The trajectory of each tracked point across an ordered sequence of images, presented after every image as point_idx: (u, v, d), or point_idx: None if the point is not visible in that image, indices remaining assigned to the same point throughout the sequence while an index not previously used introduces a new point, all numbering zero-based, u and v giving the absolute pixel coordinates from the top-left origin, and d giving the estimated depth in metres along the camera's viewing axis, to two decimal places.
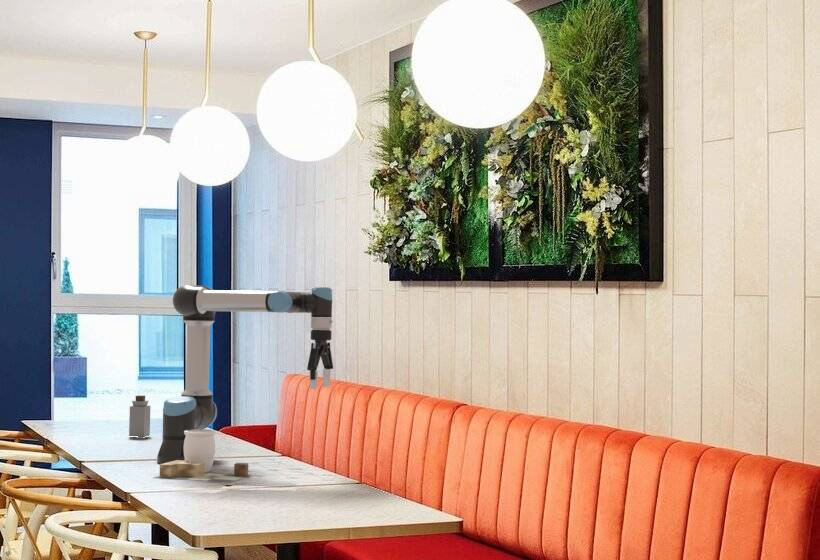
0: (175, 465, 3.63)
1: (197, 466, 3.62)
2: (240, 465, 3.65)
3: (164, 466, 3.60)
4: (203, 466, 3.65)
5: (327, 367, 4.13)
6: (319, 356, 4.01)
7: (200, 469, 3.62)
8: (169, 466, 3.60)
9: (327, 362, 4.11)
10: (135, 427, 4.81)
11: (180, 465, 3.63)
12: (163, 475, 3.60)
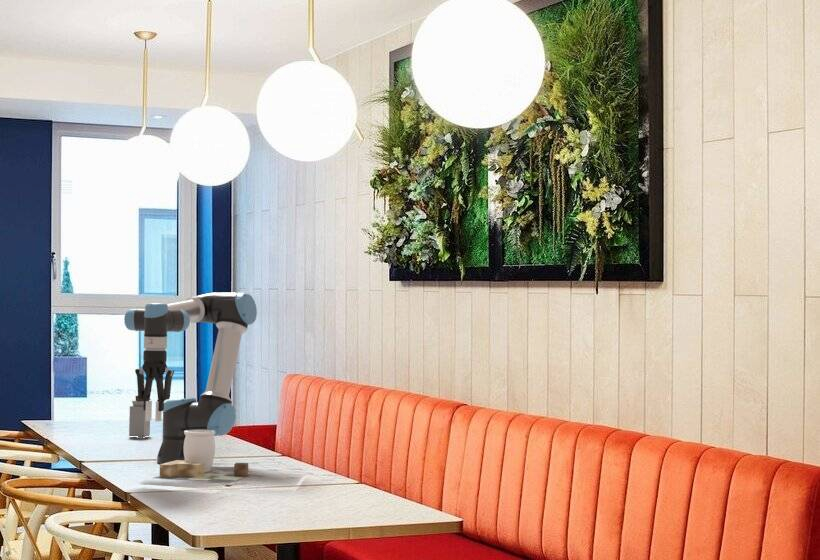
0: (175, 465, 3.63)
1: (197, 466, 3.62)
2: (240, 465, 3.65)
3: (164, 466, 3.60)
4: (203, 466, 3.65)
5: None
6: (146, 382, 3.69)
7: (200, 469, 3.62)
8: (169, 466, 3.60)
9: None
10: (135, 427, 4.81)
11: (180, 465, 3.63)
12: (163, 475, 3.60)
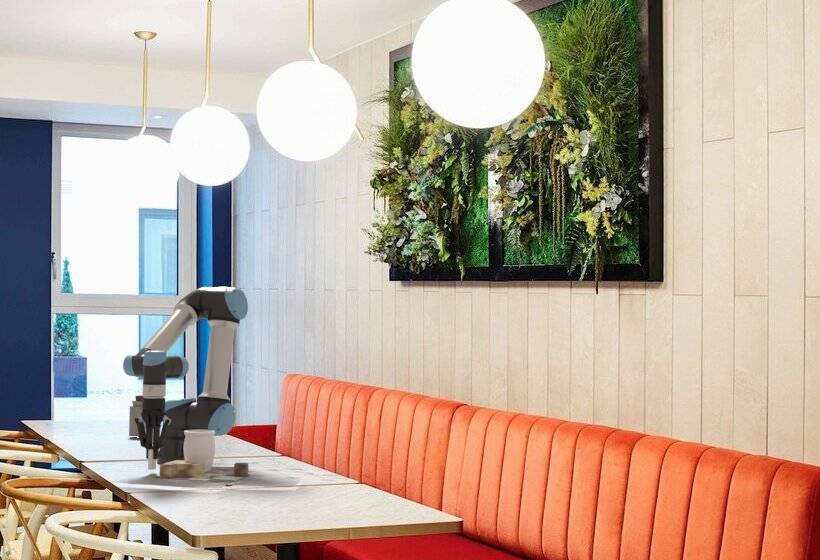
0: (175, 465, 3.63)
1: (197, 466, 3.62)
2: (240, 465, 3.65)
3: (164, 466, 3.60)
4: (203, 466, 3.65)
5: None
6: (146, 430, 3.68)
7: (200, 469, 3.62)
8: (169, 466, 3.60)
9: None
10: (135, 427, 4.81)
11: (180, 465, 3.63)
12: (163, 475, 3.60)
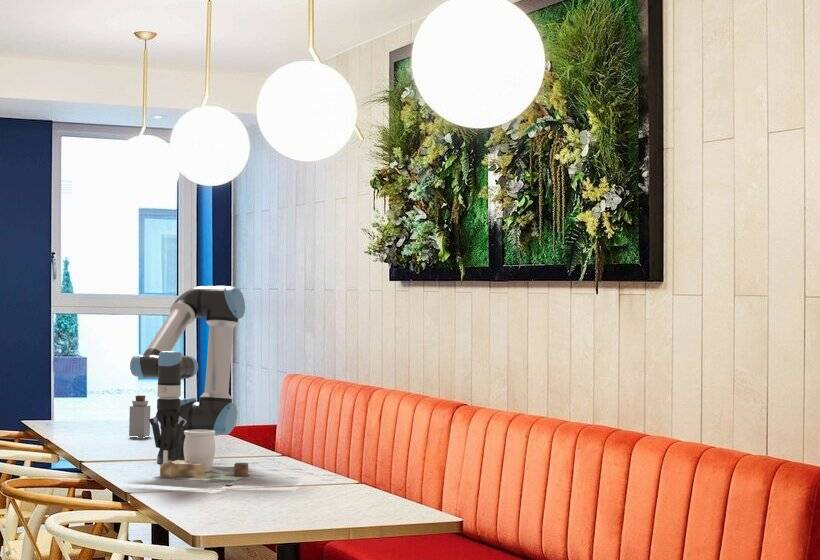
0: (175, 465, 3.63)
1: (197, 466, 3.62)
2: (240, 465, 3.65)
3: (164, 466, 3.60)
4: (203, 466, 3.64)
5: None
6: (161, 431, 3.66)
7: (200, 469, 3.62)
8: (169, 466, 3.60)
9: None
10: (135, 427, 4.81)
11: (180, 465, 3.63)
12: (163, 475, 3.60)
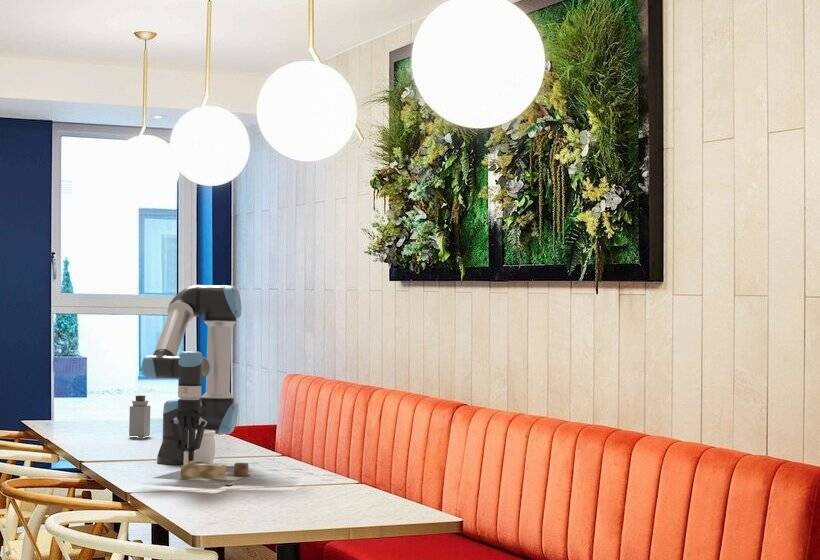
0: (196, 466, 3.61)
1: (218, 467, 3.59)
2: (240, 465, 3.65)
3: (185, 467, 3.58)
4: (224, 467, 3.62)
5: None
6: (182, 432, 3.64)
7: (221, 470, 3.60)
8: (190, 467, 3.58)
9: None
10: (135, 427, 4.81)
11: (201, 466, 3.61)
12: (184, 476, 3.58)
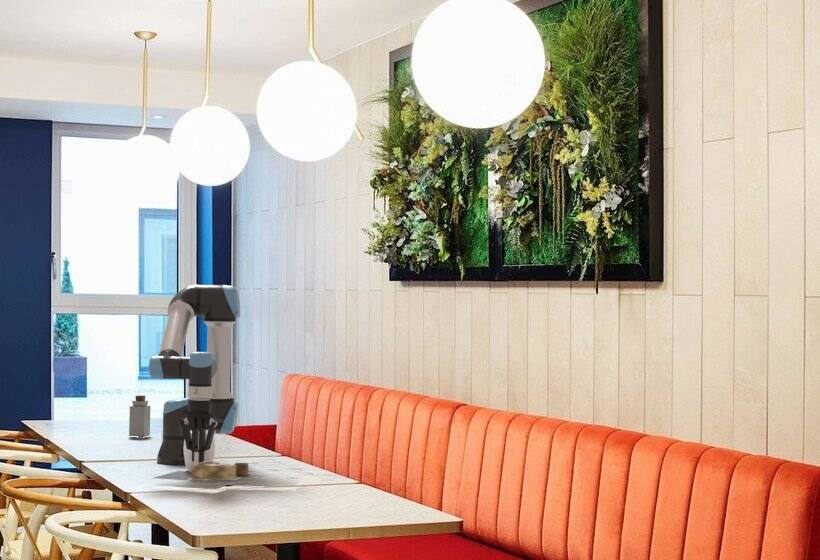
0: (206, 467, 3.60)
1: (229, 468, 3.58)
2: (240, 465, 3.65)
3: (196, 468, 3.57)
4: (235, 468, 3.61)
5: None
6: (192, 433, 3.63)
7: (232, 471, 3.59)
8: (201, 468, 3.57)
9: None
10: (135, 427, 4.81)
11: (211, 467, 3.60)
12: (194, 477, 3.57)
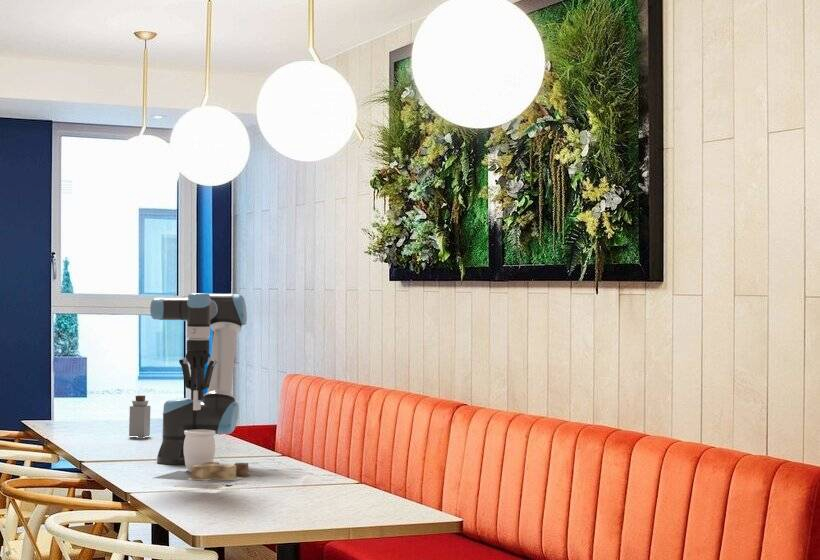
0: (207, 467, 3.60)
1: (229, 468, 3.58)
2: (240, 465, 3.65)
3: (196, 468, 3.57)
4: (235, 468, 3.61)
5: None
6: (191, 372, 3.72)
7: (232, 471, 3.59)
8: (201, 468, 3.57)
9: None
10: (135, 427, 4.81)
11: (212, 467, 3.60)
12: (195, 477, 3.57)
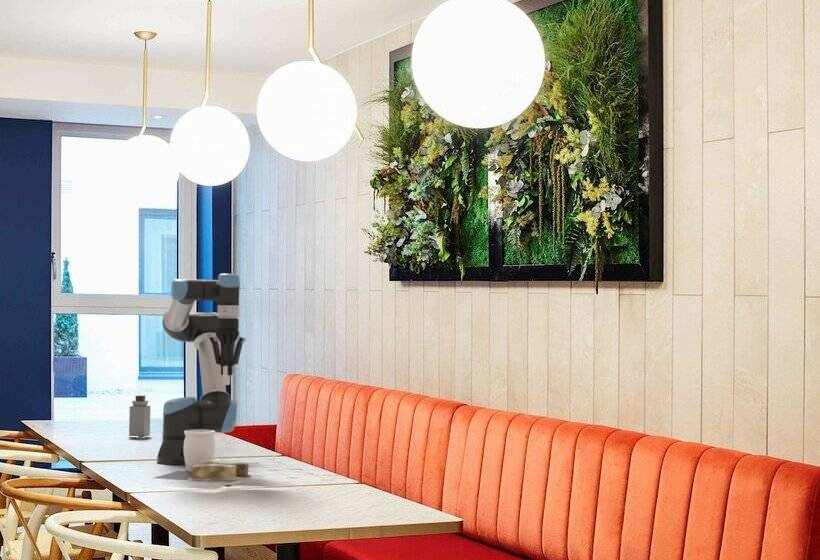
0: (207, 467, 3.60)
1: (229, 468, 3.58)
2: (240, 465, 3.65)
3: (196, 468, 3.57)
4: (235, 468, 3.61)
5: None
6: (221, 348, 3.92)
7: (232, 471, 3.59)
8: (201, 468, 3.57)
9: None
10: (135, 427, 4.81)
11: (212, 467, 3.60)
12: (195, 477, 3.57)
